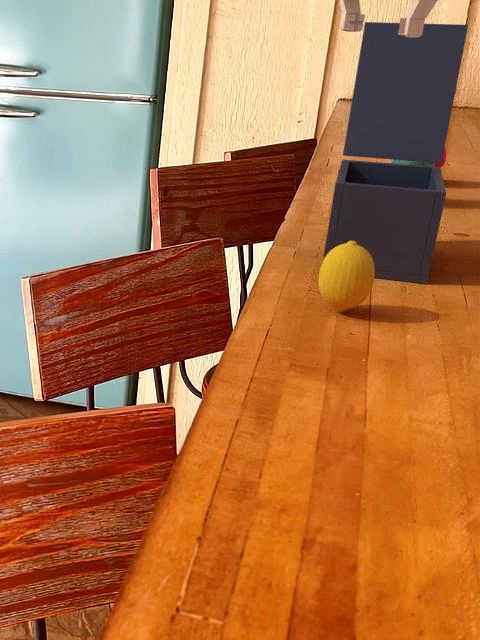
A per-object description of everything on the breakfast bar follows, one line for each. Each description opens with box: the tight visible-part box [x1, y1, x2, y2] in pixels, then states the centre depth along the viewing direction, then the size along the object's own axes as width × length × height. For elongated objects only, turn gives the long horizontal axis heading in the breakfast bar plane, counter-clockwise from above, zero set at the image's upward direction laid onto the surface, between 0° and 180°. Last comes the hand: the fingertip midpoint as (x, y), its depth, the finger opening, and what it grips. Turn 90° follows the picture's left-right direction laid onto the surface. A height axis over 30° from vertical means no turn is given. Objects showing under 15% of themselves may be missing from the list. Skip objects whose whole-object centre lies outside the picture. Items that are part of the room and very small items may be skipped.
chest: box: [322, 159, 447, 285], centre depth 112 cm, size 16×12×11 cm
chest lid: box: [342, 21, 469, 163], centre depth 114 cm, size 17×12×1 cm
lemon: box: [318, 241, 375, 313], centre depth 95 cm, size 6×6×8 cm
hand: (379, 34), depth 93 cm, fingers open, 8 cm apart
